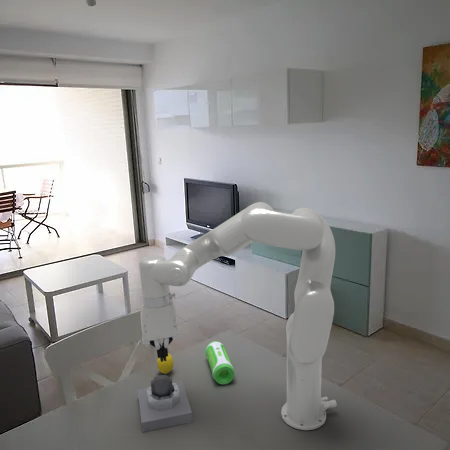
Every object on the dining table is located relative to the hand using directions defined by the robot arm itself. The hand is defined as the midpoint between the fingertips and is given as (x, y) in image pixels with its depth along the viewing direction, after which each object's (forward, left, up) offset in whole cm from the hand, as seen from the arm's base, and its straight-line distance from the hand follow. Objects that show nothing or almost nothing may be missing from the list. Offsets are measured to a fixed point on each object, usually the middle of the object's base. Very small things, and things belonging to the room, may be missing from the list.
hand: (163, 359), depth 123 cm
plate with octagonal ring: (+1, 0, -17) cm, 17 cm away
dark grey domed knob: (+1, 0, -13) cm, 13 cm away
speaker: (-20, -15, -17) cm, 30 cm away
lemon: (-2, -19, -17) cm, 26 cm away
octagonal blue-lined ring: (+1, 0, -14) cm, 14 cm away
